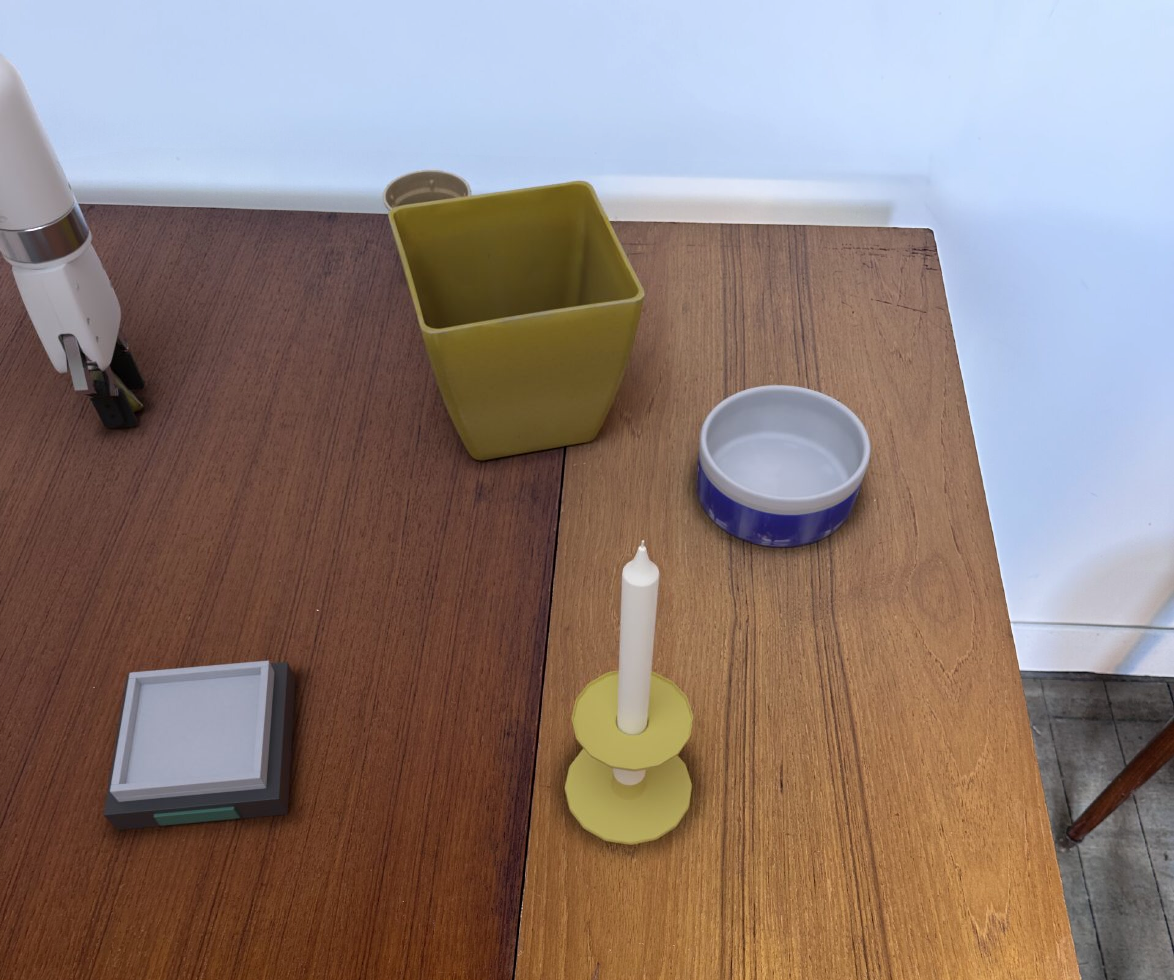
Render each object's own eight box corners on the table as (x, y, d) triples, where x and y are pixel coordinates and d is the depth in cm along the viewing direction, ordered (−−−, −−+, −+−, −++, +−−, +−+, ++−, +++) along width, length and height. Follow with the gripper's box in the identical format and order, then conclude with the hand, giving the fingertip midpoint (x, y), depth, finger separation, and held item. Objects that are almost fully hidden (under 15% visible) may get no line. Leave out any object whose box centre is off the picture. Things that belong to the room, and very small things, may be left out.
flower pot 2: (589, 338, 104) (589, 175, 90) (640, 456, 95) (648, 295, 81) (415, 369, 102) (385, 206, 88) (449, 493, 93) (422, 334, 78)
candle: (592, 719, 79) (590, 458, 56) (708, 756, 78) (757, 502, 54) (544, 820, 75) (522, 580, 52) (667, 862, 73) (701, 633, 50)
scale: (116, 833, 74) (93, 807, 71) (139, 693, 81) (118, 663, 78) (287, 817, 75) (272, 791, 72) (295, 679, 82) (282, 649, 78)
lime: (118, 391, 101) (97, 348, 96) (159, 401, 100) (139, 358, 95) (93, 418, 98) (71, 376, 94) (135, 429, 98) (114, 386, 93)
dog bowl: (862, 553, 88) (878, 503, 83) (693, 546, 89) (699, 496, 84) (849, 439, 96) (864, 386, 91) (695, 433, 97) (700, 381, 92)
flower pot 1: (493, 258, 112) (486, 180, 104) (454, 304, 108) (444, 226, 100) (422, 239, 114) (410, 161, 107) (381, 283, 110) (365, 205, 102)
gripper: (13, 176, 87) (100, 356, 103) (-27, 290, 79) (74, 467, 94) (99, 172, 88) (172, 351, 103) (67, 284, 79) (153, 461, 95)
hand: (125, 405), depth 99 cm, fingers closed on lime, 5 cm apart
